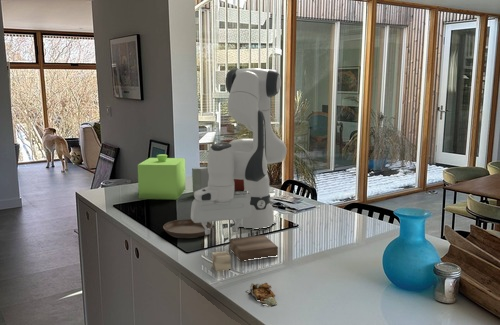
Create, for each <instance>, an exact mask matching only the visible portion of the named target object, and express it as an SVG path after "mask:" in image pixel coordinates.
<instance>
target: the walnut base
mask: <svg viewBox="0 0 500 325" xmlns="http://www.w3.org/2000/svg"><path fill="white" fill-rule="evenodd" d="M229 249H231V250H232V251H233V252H234V253H235V254H234V253H233V252H232V251H231V250H230V251H231V252H232V253H233V254H234V256H235V257H236V256H237V257H238V258H239V259H240V260H241V261H244V260H248V259H254V258H261V257H268V256H276V255H279V246H278V245H276V243H274V242H273V241H272V240H271V239H269V238H268V237H267V236H266V235H264V234H262V235H261V234H260V235H251V236H243V237H242V236H241V237H233V238H232V237H231V238H229ZM237 257H236V258H237ZM238 258H237V259H238ZM239 259H238V260H239ZM240 260H239V261H240ZM241 261H240V262H241ZM244 262H245V261H244Z"/></svg>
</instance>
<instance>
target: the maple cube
mask: <svg viewBox="0 0 500 325" xmlns="http://www.w3.org/2000/svg"><path fill="white" fill-rule="evenodd" d="M211 253H212V257H211V259H212V268H213V270H216V271H215V272H217V273H218V272H224V271H223V270H226V271H230V270H229V269H232V267H231V260H232V258H231V254H230V253H229V252H228V251H227V250H224V251H213V252H211Z"/></svg>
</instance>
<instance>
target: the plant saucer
mask: <svg viewBox="0 0 500 325" xmlns="http://www.w3.org/2000/svg"><path fill="white" fill-rule="evenodd" d="M206 227H207V228H209V229H210V231H212V230H211V229H212V228H213V224H212V223H211V222H207V225H206ZM162 228H163V229H164V231H165V233H166V234H167V235H169V236H171V237H173V238H178V239H196V238H200V237H203V236H205V235H206V234H205V228H204V227H203V225H202V222H200V223H194V222H193V221H192V219H191V218H185V219H184V218H183V219H175V220H171V221H168V222H166V223H165V224H164V225H163V226H162Z"/></svg>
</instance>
